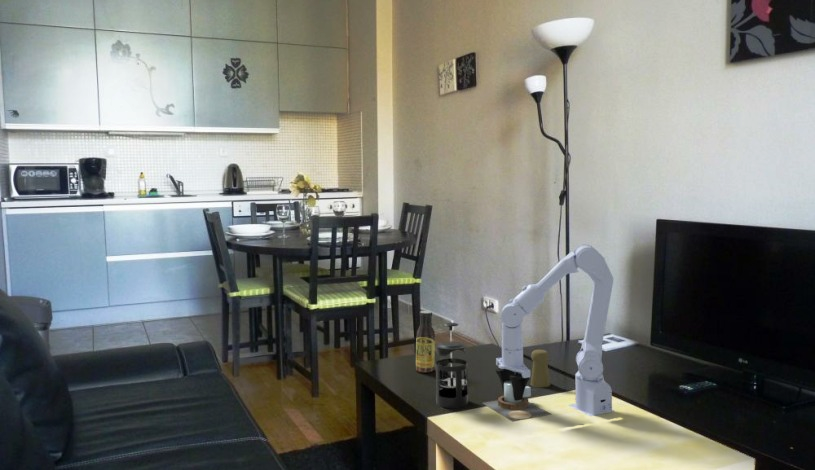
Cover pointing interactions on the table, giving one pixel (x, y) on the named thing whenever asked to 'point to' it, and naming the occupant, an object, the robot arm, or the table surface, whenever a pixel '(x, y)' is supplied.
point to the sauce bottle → (425, 344)
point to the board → (516, 409)
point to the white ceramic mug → (509, 393)
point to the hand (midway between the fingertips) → (513, 396)
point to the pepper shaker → (540, 369)
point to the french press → (451, 387)
